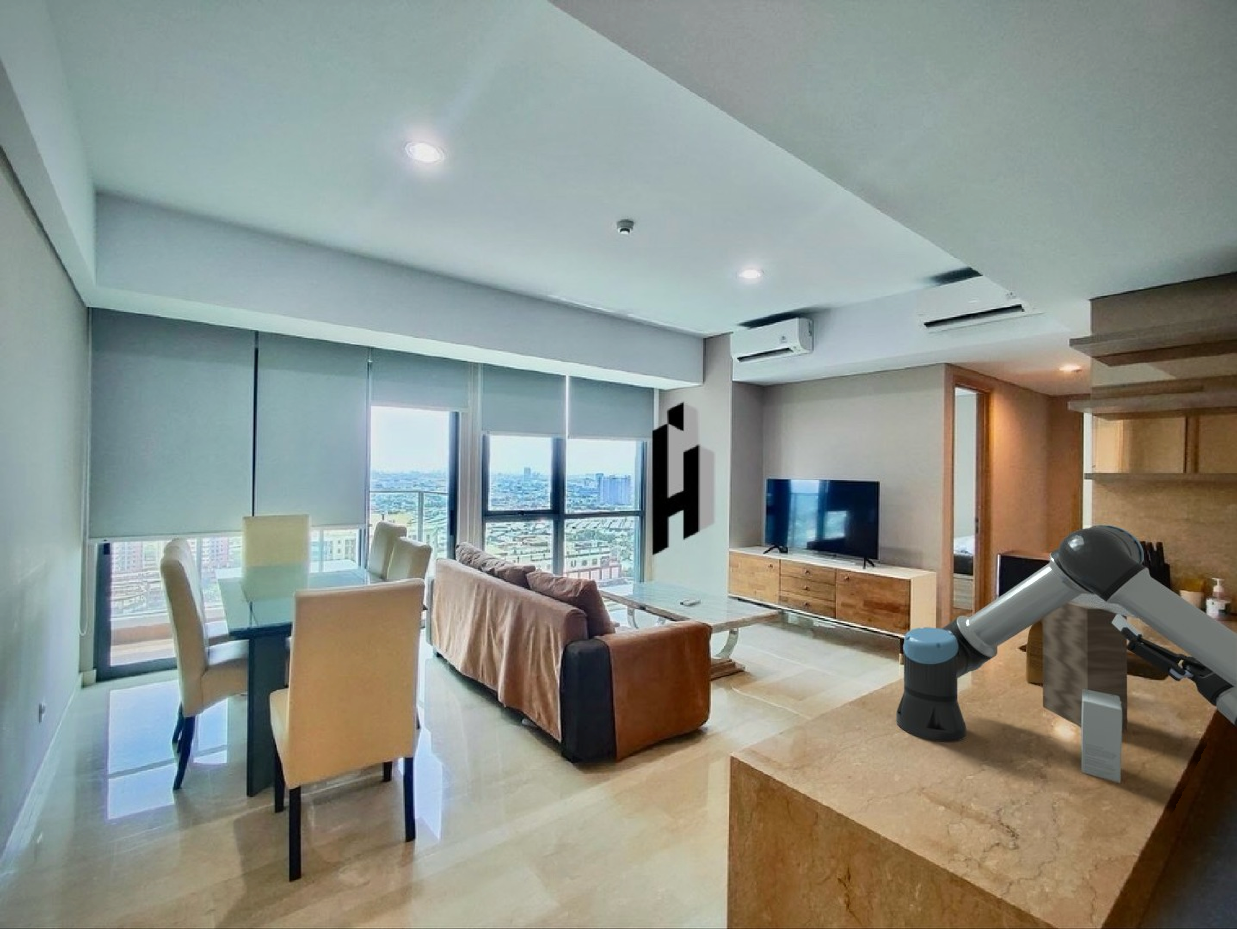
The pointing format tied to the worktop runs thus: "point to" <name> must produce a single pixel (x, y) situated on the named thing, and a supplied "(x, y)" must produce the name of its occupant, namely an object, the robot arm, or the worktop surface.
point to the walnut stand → (1082, 659)
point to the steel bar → (1102, 604)
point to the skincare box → (1101, 735)
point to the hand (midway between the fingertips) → (1144, 618)
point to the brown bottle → (1035, 653)
